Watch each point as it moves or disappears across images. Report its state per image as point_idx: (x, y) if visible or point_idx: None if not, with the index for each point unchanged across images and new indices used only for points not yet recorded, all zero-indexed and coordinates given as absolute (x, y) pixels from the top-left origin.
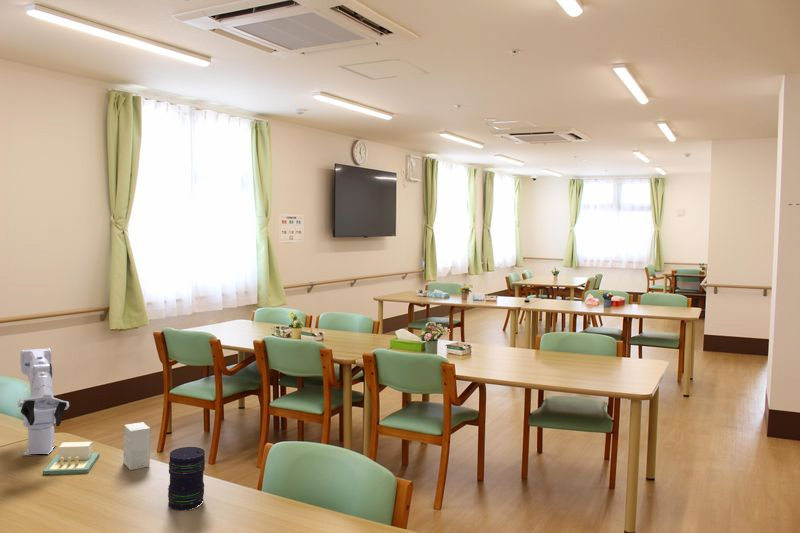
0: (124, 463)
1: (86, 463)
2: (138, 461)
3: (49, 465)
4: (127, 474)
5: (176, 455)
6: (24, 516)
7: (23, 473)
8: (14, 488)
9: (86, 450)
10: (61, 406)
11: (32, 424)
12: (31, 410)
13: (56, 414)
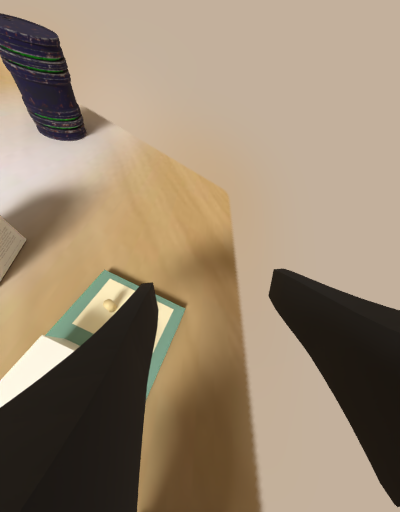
0: (2, 276)
1: (88, 304)
2: None
3: (167, 341)
4: (49, 226)
5: (45, 35)
6: (215, 198)
7: (216, 341)
8: (227, 272)
9: (56, 339)
10: (52, 410)
11: (270, 290)
12: (357, 303)
13: (135, 409)
